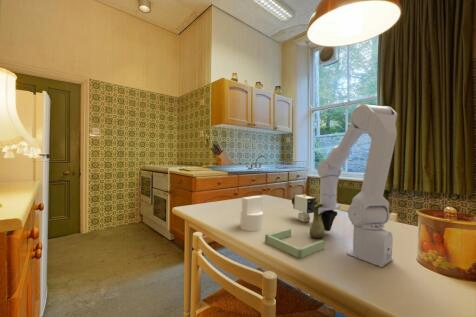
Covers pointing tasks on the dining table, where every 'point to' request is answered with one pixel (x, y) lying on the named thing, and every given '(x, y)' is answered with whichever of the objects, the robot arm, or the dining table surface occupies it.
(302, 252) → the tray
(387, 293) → the dining table surface
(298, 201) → the pneumatic valve
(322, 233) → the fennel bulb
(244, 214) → the cylinder with rectangular tab
